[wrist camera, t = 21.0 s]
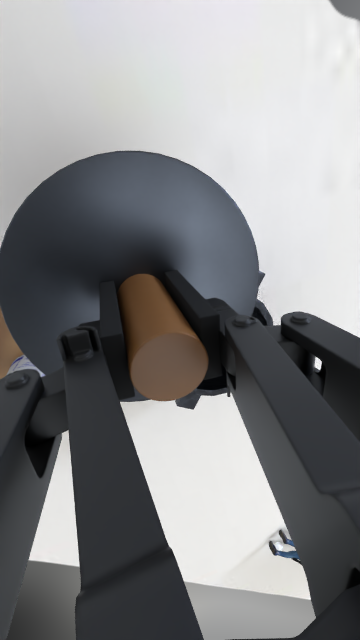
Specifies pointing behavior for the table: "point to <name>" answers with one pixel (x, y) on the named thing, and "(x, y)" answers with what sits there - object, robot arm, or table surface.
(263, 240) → the table surface
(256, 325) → the robot arm
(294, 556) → the person figurine
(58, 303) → the lid
